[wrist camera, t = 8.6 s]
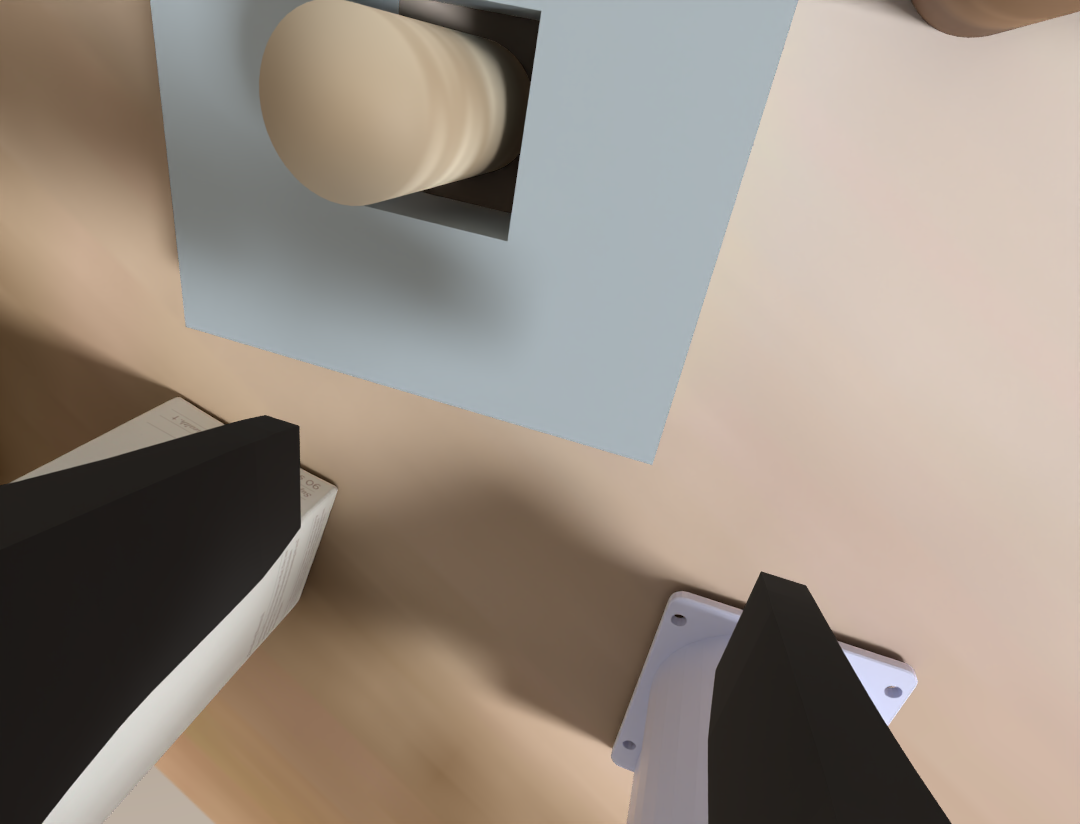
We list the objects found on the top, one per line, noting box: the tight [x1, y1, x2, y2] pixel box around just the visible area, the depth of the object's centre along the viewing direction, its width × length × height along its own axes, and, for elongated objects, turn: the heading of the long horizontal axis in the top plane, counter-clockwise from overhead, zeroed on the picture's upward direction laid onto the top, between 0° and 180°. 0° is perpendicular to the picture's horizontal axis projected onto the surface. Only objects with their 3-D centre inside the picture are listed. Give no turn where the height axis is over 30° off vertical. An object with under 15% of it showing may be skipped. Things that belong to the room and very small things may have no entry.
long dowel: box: [259, 0, 531, 206], centre depth 13 cm, size 3×3×6 cm
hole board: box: [150, 0, 798, 465], centre depth 15 cm, size 14×14×3 cm
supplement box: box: [10, 397, 338, 824], centre depth 20 cm, size 7×7×13 cm
